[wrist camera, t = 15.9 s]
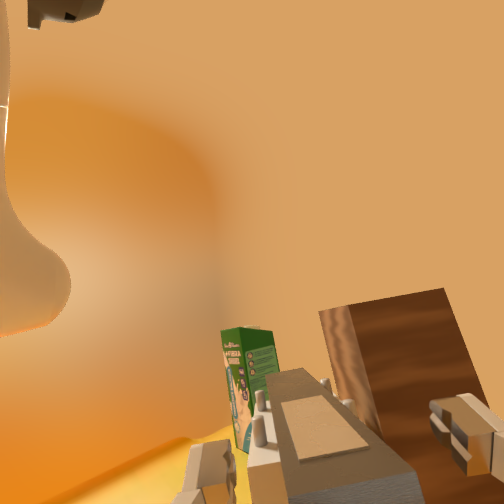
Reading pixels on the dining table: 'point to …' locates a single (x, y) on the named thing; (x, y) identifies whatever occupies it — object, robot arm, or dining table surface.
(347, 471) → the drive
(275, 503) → the dock
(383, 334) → the stand
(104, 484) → the dining table surface
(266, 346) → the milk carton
